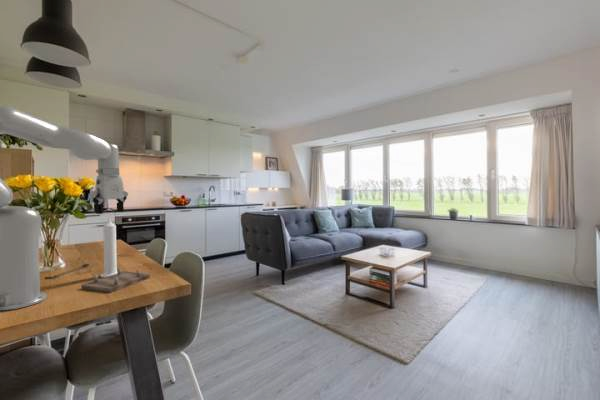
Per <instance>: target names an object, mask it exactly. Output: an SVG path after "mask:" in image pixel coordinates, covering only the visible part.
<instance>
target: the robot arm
mask: <svg viewBox="0 0 600 400" xmlns="http://www.w3.org/2000/svg"><path fill="white" fill-rule="evenodd" d="M0 135H9V136H12V137H16V138H18V139H21V140H24V141H28V142H30V143H33V144H36V145H40V146H43V147H46V148H51V149H59V150H60V149H63V150H72V152H73V155H74V156H76V158H77V159H81V160H85V161H87V160H89V161H91V160H95V161H96V160H97V169H96V170H95V173H97V176H96V181H95V190H93V191H91V192H89V193H88V196H89V199H90V201H91V202H92V203H93V205H94V206H95V214H97V215H102V214H104V204H103V202H104V200H116V212H120V213H123V212H124V210H125V208H124V204H125V203H126V200H127V197H128V195H129V192H127V191H125V188H124V183H123V182H124V181H123V178H122V176H120V156H119V155H120V154H119V152H120V151H119V147H118V145H116V144H114V143H108V142H107V141H106V140H104V139H103V138H100V137H97V136H95V135H92V134H91V133H87V132H84V131H81V130H77V129H72V128H69V127H66V126H63V125H57V124H54V123H53V122H49V121H47V120H44V119H42V118H40V117H37V116H35V115H32V114H31V113H27V112H25V111H22V110H21V109H17V108H16V107H11V106H8V105H0ZM13 193H14V192H13V190H12V189H11V188H10V186H9V185H8V184H7V183H6V182H5V181H4V180H3V179H2V178H1V177H0V311H9V310H17V309H22V308H26V307H30V306H33V305H36V304H39V303H41V302H43V301H44V300H46V299H47V293H45V292H41V281H40V280H41V279H40V278H41V277H40V271H41V270H40V250H39V248H40V233H41V230H42V223H43V222H42V216H41V215H40V213H38V211H36V210H35V209H33V208H30V207H27V206H24V205H23V206H21V205H20V206H19V205H10V204H11V203H12V201H13V200H14V194H13Z"/></svg>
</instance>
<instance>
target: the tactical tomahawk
mask: <svg viewBox="0 0 600 400" xmlns="http://www.w3.org/2000/svg"><path fill="white" fill-rule="evenodd" d="M88 266H90V263H86V264H85V263H84V264H83V265H82V266H80V267H79V266H78V267H75V268H72V269H69V270H67V271H64V272H61V273H58V274H55V275H53V276H45V277H44V279H45V280H55V279H60V276H63V275H66V274H70V273H72V272H76V271H78V270H81V269H84V268H86V267H88Z"/></svg>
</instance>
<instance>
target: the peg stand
mask: <svg viewBox="0 0 600 400" xmlns="http://www.w3.org/2000/svg"><path fill="white" fill-rule="evenodd" d="M149 277H150V278H151V274H150V273H144V272H141V270H140V269H137V270H136V272H133V271H122V268H120V267H117V274H114V275H111V276H108V277H105V278H103V277H101V278H99V276H98V274H95V275H93V280H92V281H89V282H85V283H83V284H81V285H80V286H81V290H88V291H97V292H101V293H102V292H103V293H109V294H110V293H113V292H117V291H119V290H121V289H123V288H126V287H129V286H131V285H134V284H137V283H139V282H142V281H144V280H147V279H150V278H149Z"/></svg>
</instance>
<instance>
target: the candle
mask: <svg viewBox="0 0 600 400" xmlns="http://www.w3.org/2000/svg"><path fill="white" fill-rule="evenodd" d="M102 226H103V227H102V228H103V229H102V230H103V232H102V233H103V236H102V237H103V271H104V272H103V273H101V274H100V277H101V278H105V277H108V276H111V275H114V274H117V269H118V262H117V259H118V258H117V256H118V255H117V225H116V224H114V223H113V222H112V219H111V217H109V218H108V220H107V223H106V224H104V225H102Z"/></svg>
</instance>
